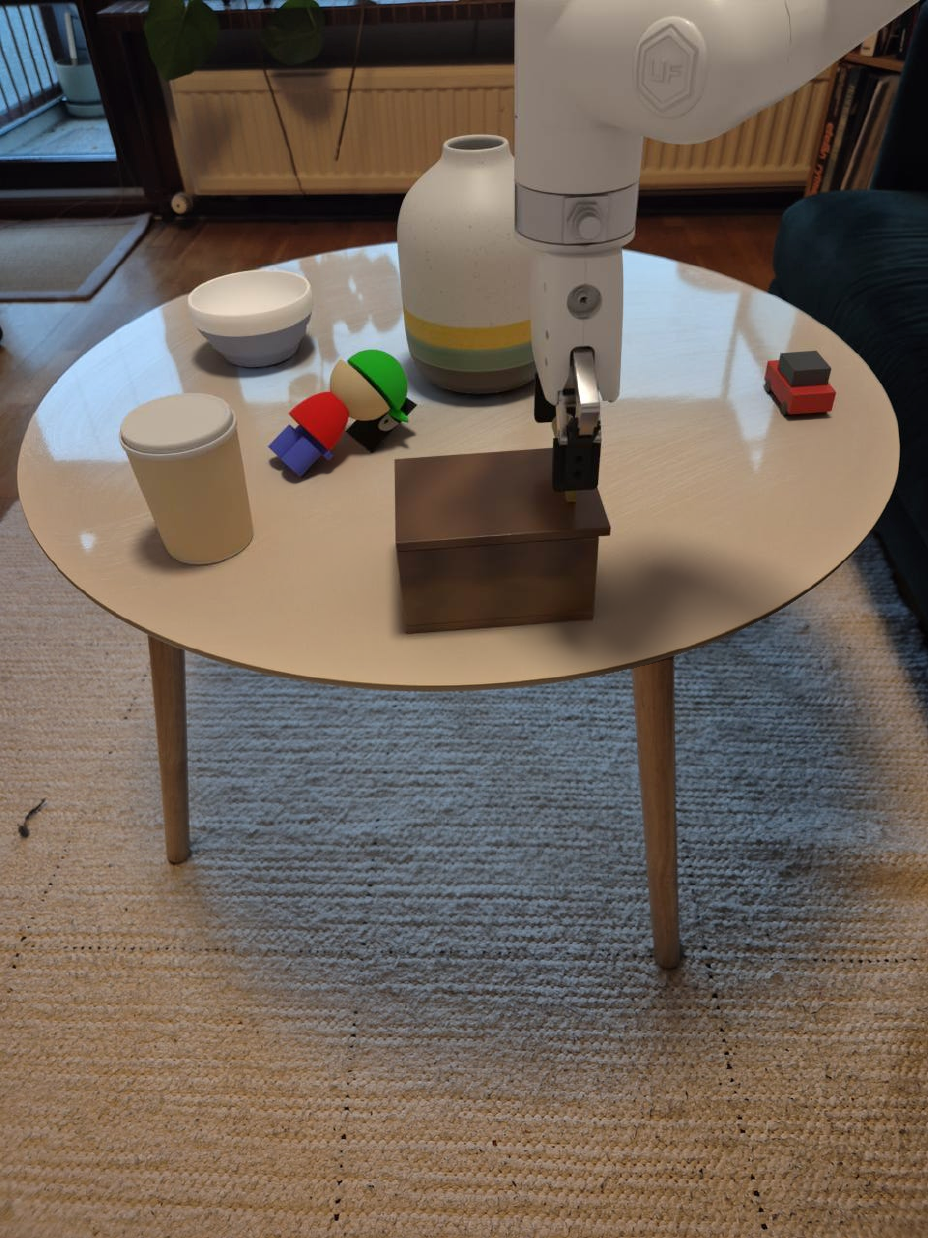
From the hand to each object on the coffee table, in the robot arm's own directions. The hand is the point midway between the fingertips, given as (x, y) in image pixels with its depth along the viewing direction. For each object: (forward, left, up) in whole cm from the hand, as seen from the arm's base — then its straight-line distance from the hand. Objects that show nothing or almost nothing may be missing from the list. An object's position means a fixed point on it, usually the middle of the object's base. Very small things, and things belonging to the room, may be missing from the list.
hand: (563, 452), depth 66 cm
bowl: (+48, -29, -12) cm, 57 cm away
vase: (+20, -32, -12) cm, 40 cm away
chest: (+5, +3, -11) cm, 13 cm away
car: (-14, -36, -11) cm, 41 cm away
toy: (+27, -12, -12) cm, 32 cm away
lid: (+5, +2, -4) cm, 6 cm away
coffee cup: (+31, +6, -12) cm, 33 cm away
